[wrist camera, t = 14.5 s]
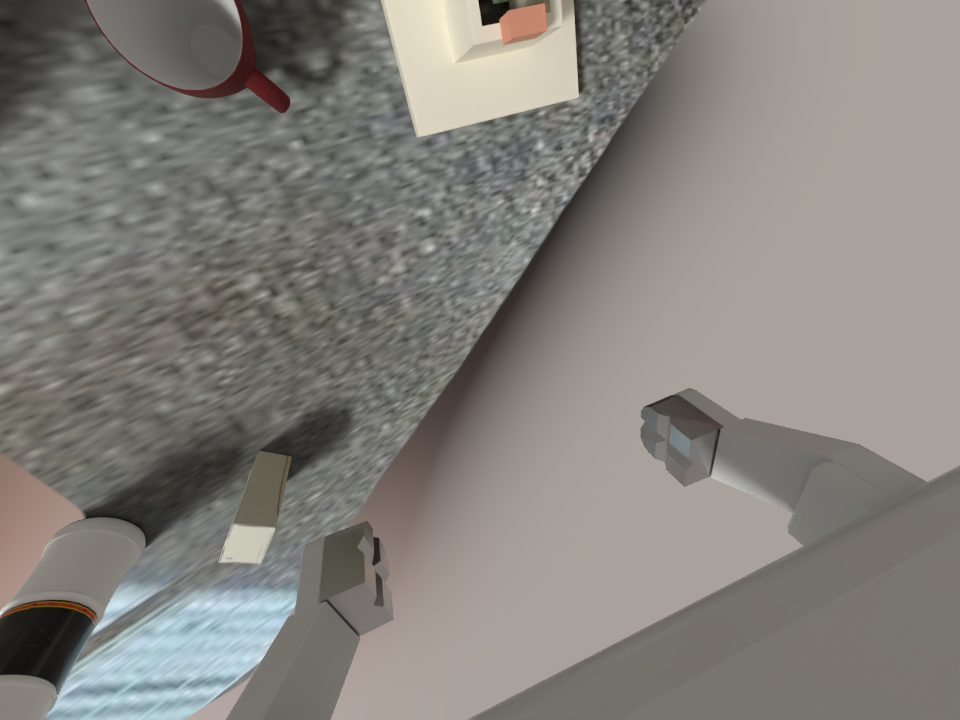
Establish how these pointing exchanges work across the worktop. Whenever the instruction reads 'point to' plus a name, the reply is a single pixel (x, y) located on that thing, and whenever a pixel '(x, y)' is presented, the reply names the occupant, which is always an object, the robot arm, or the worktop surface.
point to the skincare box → (257, 510)
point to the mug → (188, 45)
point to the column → (500, 1)
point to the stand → (481, 59)
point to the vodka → (60, 611)
